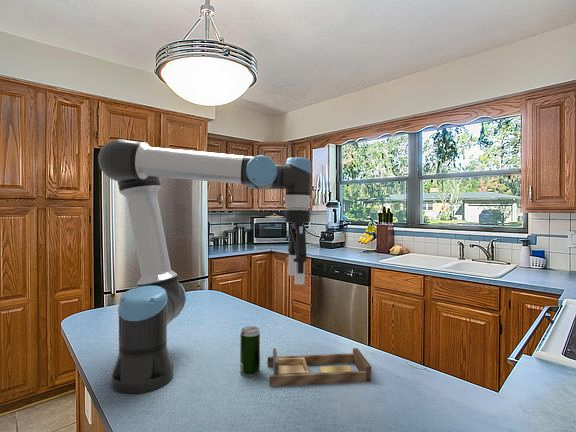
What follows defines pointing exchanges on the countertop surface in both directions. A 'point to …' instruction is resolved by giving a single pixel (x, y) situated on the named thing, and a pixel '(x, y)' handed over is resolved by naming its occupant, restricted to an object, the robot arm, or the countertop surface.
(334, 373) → the tray
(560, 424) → the countertop surface
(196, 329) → the countertop surface
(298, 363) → the wooden square tray
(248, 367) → the beer can
